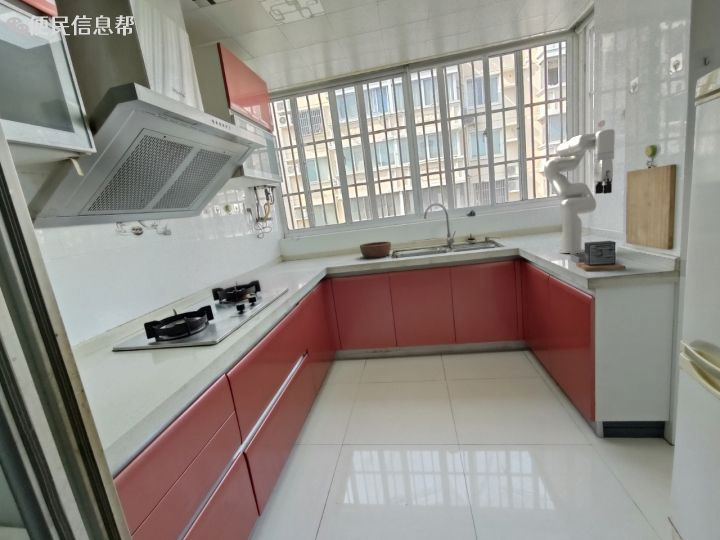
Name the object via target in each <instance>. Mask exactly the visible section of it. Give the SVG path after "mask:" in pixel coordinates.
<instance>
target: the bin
mask: <svg viewBox="0 0 720 540" xmlns="http://www.w3.org/2000/svg"><path fill="white" fill-rule="evenodd" d="M570 259H571V260H570V261H572V262H573V261H574V262H573V263H575V262H576V264H577V263H580V262H585V253H578V254H570ZM615 262H617V256H616V255H615Z"/></svg>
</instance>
